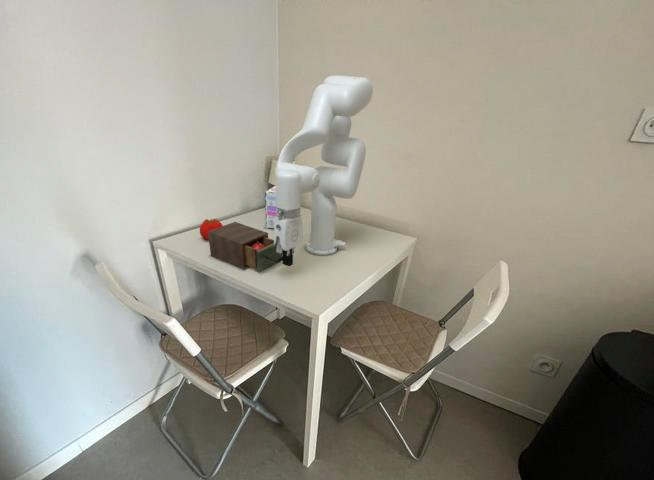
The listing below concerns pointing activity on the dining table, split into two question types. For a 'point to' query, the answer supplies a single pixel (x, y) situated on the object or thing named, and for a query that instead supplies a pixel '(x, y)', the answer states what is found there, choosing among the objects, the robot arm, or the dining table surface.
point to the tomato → (209, 227)
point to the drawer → (262, 255)
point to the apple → (257, 246)
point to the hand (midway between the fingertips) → (287, 264)
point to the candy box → (270, 207)
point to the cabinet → (233, 242)
